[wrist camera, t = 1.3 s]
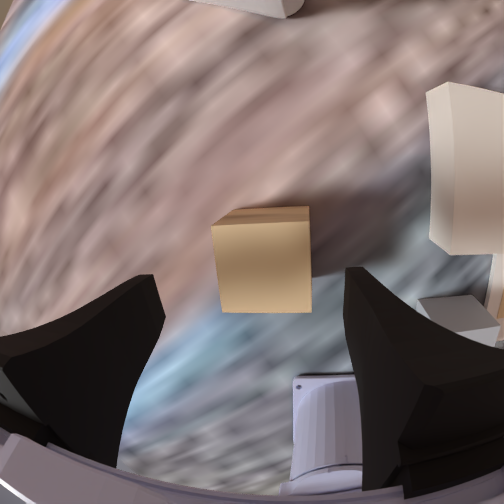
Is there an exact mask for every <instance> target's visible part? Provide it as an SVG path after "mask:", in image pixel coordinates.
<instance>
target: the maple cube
mask: <svg viewBox="0 0 504 504" xmlns="http://www.w3.org/2000/svg"><path fill="white" fill-rule="evenodd" d="M211 231H212V239H213V247H214V255H215V263H216V270H217V278H218V285H219V292H220V299H221V306H222V312H231V313H311V311H312V268H311V237H310V215H309V206H291V207H271V208H253V209H236V210H232V211H231V212H229V213H228V214H227V215H225V216H224V217H223V218H221V219H220V220H218V221H217V222H216V223H214V224H213V225H212V226H211Z"/></svg>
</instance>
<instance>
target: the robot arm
mask: <svg viewBox="0 0 504 504" xmlns="http://www.w3.org/2000/svg"><path fill="white" fill-rule="evenodd" d="M165 318H166V316H165V313H164V310H163V306H162V303H161V300H160V297H159V293H158V290H157V287H156V283H155V280H154V276H153V274H148V275H138V276H135V277H133V278H131V279H129V280H127V281H126V282H124V283H122V284H120V285H119V286H117V287H115V288H114V289H112V290H110V291H109V292H107V293H105V294H104V295H102V296H100V297H99V298H97V299H95V300H93V301H91V302H90V303H88V304H86V305H84V306H83V307H81V308H79V309H77V310H75V311H73V312H71V313H69V314H67V315H65V316H63V317H61V318H59V319H56V320H54V321H52V322H49V323H46V324H44V325H41V326H38V327H36V328H33V329H30V330H26V331H23V332H19V333H16V334H12V335H7V336H2V337H0V484H2V485H3V486H4V487H6V488H7V489H8V490H9V491H11V492H12V493H14V494H15V495H16V496H18V497H19V498H21V499H22V500H23V501H25V502H26V504H504V350H503V349H499V348H495V347H492V346H488V345H485V344H482V343H479V342H477V341H474V340H471V339H469V338H466V337H464V336H461V335H459V334H457V333H455V332H453V331H451V330H449V329H447V328H445V327H443V326H441V325H439V324H437V323H435V322H433V321H432V320H430V319H428V318H427V317H425V316H424V315H422V314H420V313H419V312H417V311H416V310H414V309H413V308H411V307H410V306H409V305H407V304H406V303H405V302H403V301H402V300H401V299H399V298H398V297H397V296H396V295H394V294H393V293H392V292H391V291H389V290H388V289H387V288H386V287H385V286H384V285H383V284H381V283H380V282H379V281H378V280H377V279H376V278H375V277H374V276H372V275H371V274H370V273H369V272H368V271H367V270H366V269H364V268H363V267H348V268H346V269H345V290H344V306H343V319H344V328H345V336H346V341H347V345H348V349H349V354H350V358H351V362H352V366H353V370H354V375H327V376H296V377H295V378H294V379H293V442H294V449H293V458H292V465H291V473H290V480H289V482H285V483H281V484H280V490H279V495H278V496H273V495H253V494H240V493H230V492H222V491H214V490H207V489H200V488H194V487H188V486H183V485H178V484H173V483H168V482H164V481H159V480H155V479H151V478H147V477H143V476H140V475H136V474H132V473H129V472H126V471H122V470H119V469H116V466H117V458H118V451H119V445H120V440H121V435H122V430H123V426H124V422H125V418H126V415H127V411H128V407H129V404H130V401H131V398H132V395H133V392H134V389H135V387H136V384H137V382H138V380H139V377H140V375H141V373H142V371H143V369H144V367H145V365H146V363H147V361H148V359H149V357H150V355H151V353H152V351H153V349H154V347H155V345H156V343H157V341H158V339H159V336H160V333H161V331H162V328H163V324H164V321H165ZM297 385H301V386H297Z"/></svg>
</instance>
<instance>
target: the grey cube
mask: <svg viewBox="0 0 504 504" xmlns="http://www.w3.org/2000/svg"><path fill="white" fill-rule="evenodd" d="M416 311H417V312H419V313H420V314H422V315H424V316H425V317H427V318H428V319H430V320H432V321H433V322H435V323H437V324H439V325H441V326H443V327H445V328H447V329H449V330H451V331H453V332H455V333H457V334H459V335H461V336H464V337H466V338H469V339H471V340H474V341H477V342H479V343H482V344H485V345H488V346H492V347H495V343H496V340H497V337H498V334H499V331H500V327H501V325H500V324H499V323H498V322H497V321H496V320H495V318H494V317H493V316H492V315H491V314H490V313H489V312H488V311H487V310H486V309H485V308H484V307H483V305H482V304H481V303H480V302H479V301H478V300H477V299H476V298H475V297H474V296H473V295H463V296H452V297H440V298H427V299H418V301H417V308H416Z"/></svg>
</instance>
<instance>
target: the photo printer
mask: <svg viewBox="0 0 504 504" xmlns="http://www.w3.org/2000/svg"><path fill="white" fill-rule="evenodd" d="M190 1H196V2H201V3H207V4H212V5H217V6H222V7H228V8H232V9H237V10H242V11H247V12H252V13H256V14H260V15H265V16H269V17H275V18H283V19H285V18H287V16H290V15H292V14H294V13H295V12H297V11H298V10H299V9H300V8H301V7H302V5H303V3H304V1H305V0H190Z"/></svg>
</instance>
